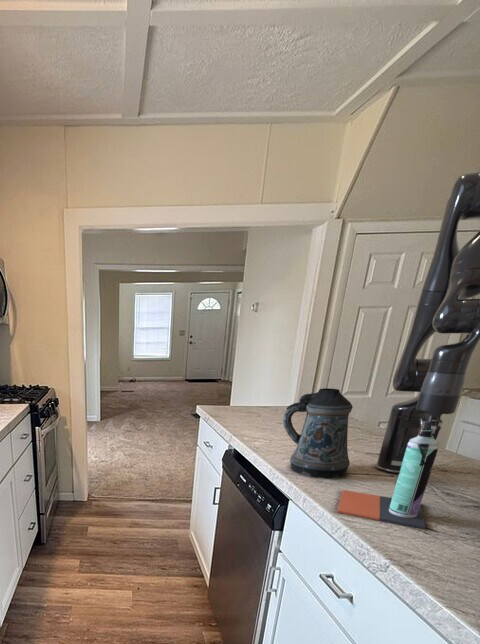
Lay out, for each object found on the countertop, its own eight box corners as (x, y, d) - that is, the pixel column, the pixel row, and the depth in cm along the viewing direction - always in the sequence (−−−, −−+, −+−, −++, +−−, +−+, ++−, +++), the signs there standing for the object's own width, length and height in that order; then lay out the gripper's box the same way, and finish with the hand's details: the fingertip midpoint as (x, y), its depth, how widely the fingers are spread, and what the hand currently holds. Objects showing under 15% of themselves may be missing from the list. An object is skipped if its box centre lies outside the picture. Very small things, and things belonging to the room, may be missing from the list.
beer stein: (358, 478, 119) (380, 393, 110) (293, 479, 120) (308, 394, 110) (329, 462, 135) (346, 385, 125) (271, 462, 135) (283, 386, 125)
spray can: (421, 518, 92) (449, 433, 85) (395, 517, 93) (420, 432, 86) (409, 509, 97) (434, 427, 90) (384, 507, 98) (407, 427, 91)
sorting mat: (342, 491, 110) (343, 489, 110) (419, 504, 101) (420, 502, 101) (337, 512, 98) (337, 510, 97) (424, 529, 89) (425, 526, 89)
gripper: (465, 397, 88) (441, 470, 95) (456, 388, 99) (435, 455, 106) (423, 394, 92) (402, 465, 99) (418, 387, 103) (400, 451, 110)
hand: (419, 459), depth 102 cm, fingers closed on terracotta block, 4 cm apart
